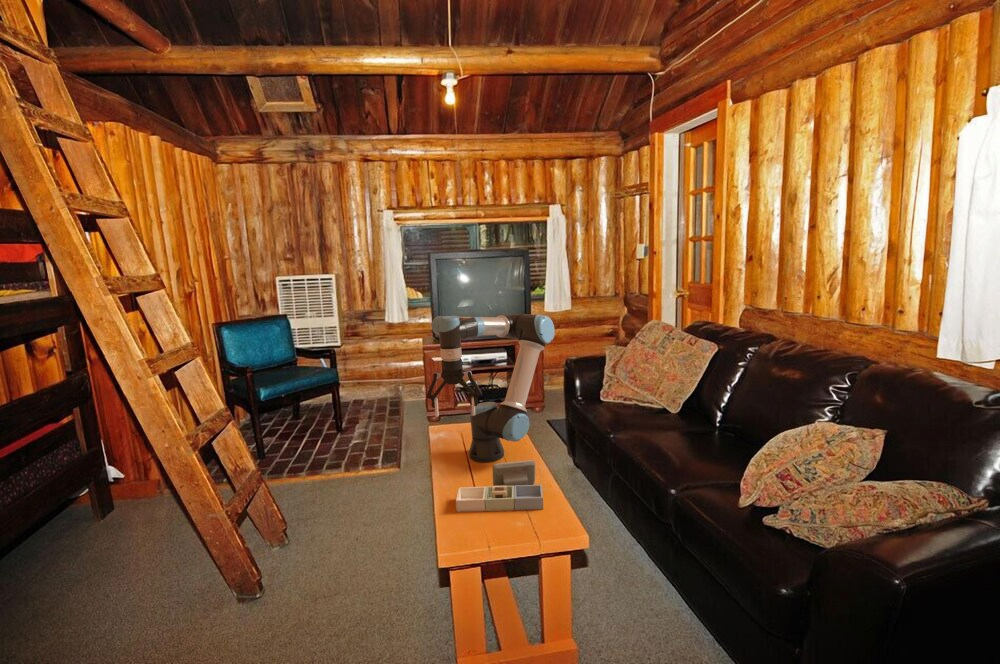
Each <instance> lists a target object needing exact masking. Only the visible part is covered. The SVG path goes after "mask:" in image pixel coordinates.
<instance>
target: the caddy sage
mask: <svg viewBox="0 0 1000 664" xmlns="http://www.w3.org/2000/svg"><path fill="white" fill-rule="evenodd" d="M492 488H493V485H492V486H486V496H485V512H496V511H498V512H499V511H504V512H505V511H515V504H514V486H507V497H508V498H496V499H492Z"/></svg>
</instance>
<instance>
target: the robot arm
mask: <svg viewBox="0 0 1000 664" xmlns="http://www.w3.org/2000/svg"><path fill="white" fill-rule="evenodd" d="M431 330H432V332H433V333H434V334H436V335H438V337H439V347H440V348H439V349H440V358H441V360H440V361H441V363H440V365H441V372H438V371H434V373H433V378H432V381H431V384H430V386H429V389H428V391H427V394H426V396H425V397H426V399H430V400H431V407H432V408H433V409H434V413H435V414H434V415H435V418H438V417H439V415H440V414H439V400H438V397H437V396H438V395H439V394H440V392H441V391H442V390H443V388H444V387H445V386H446V384H447V385H450V386H451V385H458V384H460V386H462V387H463V389H465V390H466V391H467V392H468V393H469V395H470V396H471V408H470V416H469V417H470V427H471V430H470V431H471V443H470V446H469V450H468V457H469V459H470V460H471V461H473V462H477V463H493V462H496V461H499V460H501V459H502V458H504V456H505V449H504V445H503V443H502V440H505V441H508V442H519V441H520V440H522V439H523V438H524V437H525V436H527V433H528V431H529V428H530V425H531V423H530V419H529V417H528V416H527V413H528V411H527V408H526V405H527V404H526V402H527V399H528V398H529V397H528V396H529V392H530V389H531V386H532V382H533V377H534V375H535V371H536V367H537V364H538V360H539V357H540V353H541V352H542V351H544V350H545V348H546V345H547V344H549V343H550V344H551V342H552V341H553V340H554V337H555V325H554V322H553V320H552V319H551V318H550V316H547V315H543V314H533V313H532V314H530V313H529V314H528V313H515V314H514V313H513V314H501V315H497V316H496V317H495V316H494V317H491V316H487V317H486V316H457V315H446V316H445V315H437V316H436V317H434V318H433V319H432V322H431ZM481 336H496V337H498V338H507V339H513V340H517V341H518V344H519V351H518V354H517V357H516V361H515V364H514V366H513V367H514V368H513V371H512V374H511V377H510V382H509V384H508V385H509V386H508V387H507V392H506V396H505V398H504V401H502V402H501V403H499V406H498V403H497V402H495V401H485V402H480V403H478V397H482V394H483V392H482V390H481V388H480V387H479V385H478V383H477V382H476V379H475V378H474V377H473V373H472V370H470V369H469V370H468V371H464V370H463V368H464V367H463V359H462V358H463V357H462V355H463V353H462V341H466V340H469V339H470V340H471V339H474V338H477V337H478V338H479V337H481ZM464 376H466V378H468V380H469V382H470V384H471V385H472V387H473V388H472V387H471V386H470V385H469V384H468V383H467V382H466V381H465V379H464ZM440 378H442V380H443V381H442V382H441V384H440V385H439V386H438V388H436V390H435V391H434V387H435V385H436V383H437V381H438V379H440ZM433 391H434V393H432V392H433Z"/></svg>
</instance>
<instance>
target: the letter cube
mask: <svg viewBox="0 0 1000 664" xmlns="http://www.w3.org/2000/svg"><path fill="white" fill-rule="evenodd" d="M492 486H493V485H492ZM496 498H508V497H507V486H493V488H492V499H496Z"/></svg>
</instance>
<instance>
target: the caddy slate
mask: <svg viewBox="0 0 1000 664" xmlns="http://www.w3.org/2000/svg"><path fill="white" fill-rule="evenodd" d="M529 510H531V511H532V510H544V495H543V484H531V485H517V486H514V511H529Z"/></svg>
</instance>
